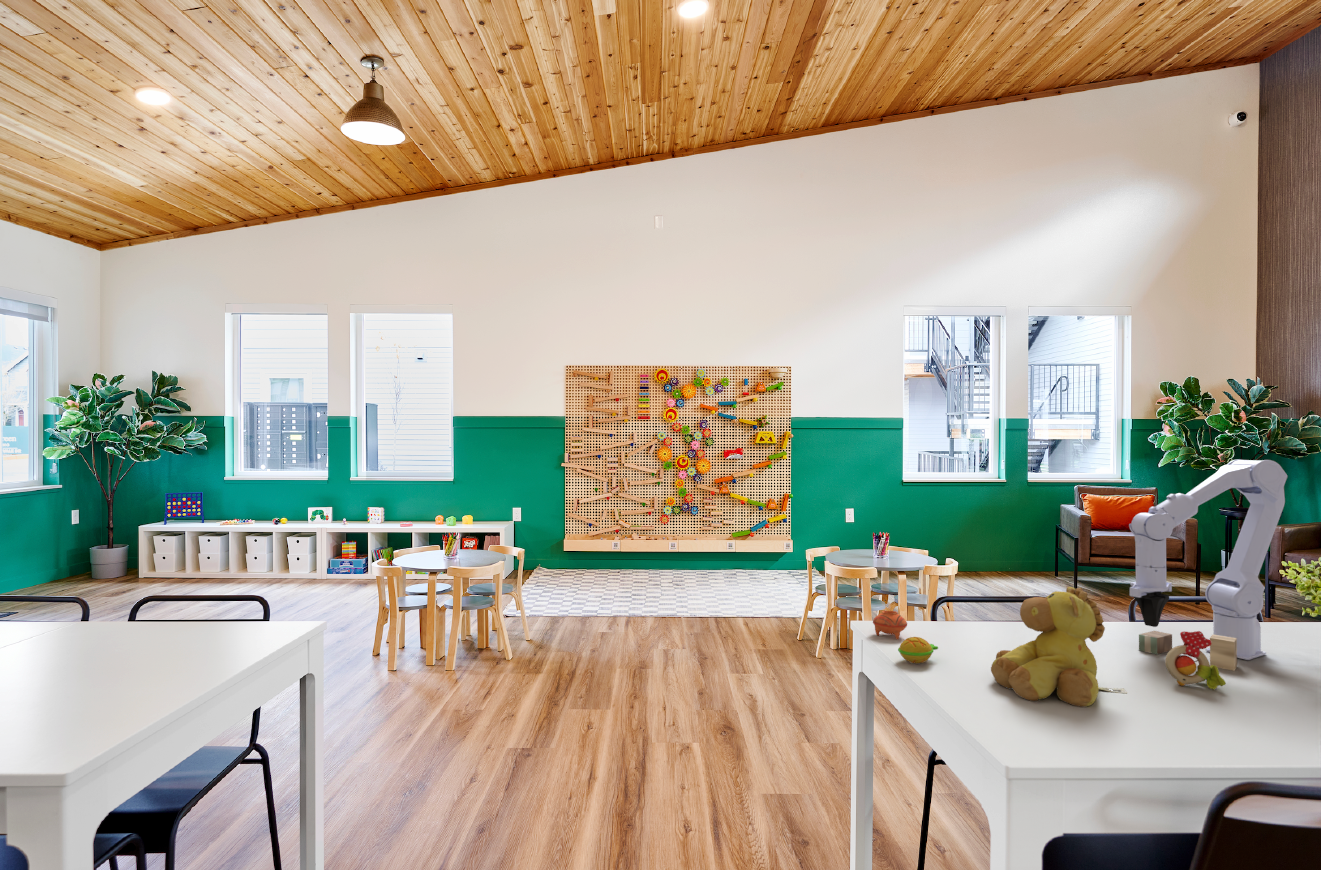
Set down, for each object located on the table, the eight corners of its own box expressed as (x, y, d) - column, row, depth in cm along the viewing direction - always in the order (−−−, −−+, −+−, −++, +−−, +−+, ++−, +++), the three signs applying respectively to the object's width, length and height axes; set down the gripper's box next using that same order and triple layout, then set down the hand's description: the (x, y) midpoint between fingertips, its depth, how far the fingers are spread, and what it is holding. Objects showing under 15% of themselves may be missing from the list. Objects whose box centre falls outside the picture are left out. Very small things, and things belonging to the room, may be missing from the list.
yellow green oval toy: (891, 662, 146) (891, 637, 147) (912, 653, 153) (912, 629, 154) (923, 670, 142) (923, 644, 142) (943, 660, 149) (943, 635, 149)
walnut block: (1138, 650, 157) (1154, 645, 160) (1156, 654, 154) (1172, 649, 157) (1138, 634, 157) (1154, 630, 160) (1156, 638, 154) (1172, 634, 157)
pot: (876, 639, 163) (874, 610, 165) (872, 638, 171) (870, 610, 173) (911, 639, 162) (909, 610, 164) (905, 639, 170) (903, 610, 171)
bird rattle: (1192, 702, 130) (1240, 685, 129) (1165, 647, 131) (1213, 629, 130) (1172, 691, 136) (1218, 674, 135) (1147, 638, 137) (1192, 621, 136)
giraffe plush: (973, 671, 141) (973, 578, 142) (1086, 671, 142) (1086, 578, 142) (1028, 708, 121) (1027, 599, 121) (1160, 709, 121) (1159, 600, 122)
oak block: (1212, 662, 148) (1212, 634, 149) (1236, 666, 146) (1236, 637, 146) (1210, 666, 146) (1209, 637, 146) (1234, 670, 143) (1234, 641, 143)
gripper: (1147, 560, 164) (1148, 617, 163) (1114, 565, 156) (1115, 625, 156) (1181, 565, 157) (1182, 624, 157) (1149, 570, 150) (1149, 632, 150)
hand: (1151, 625), depth 156 cm, fingers closed
